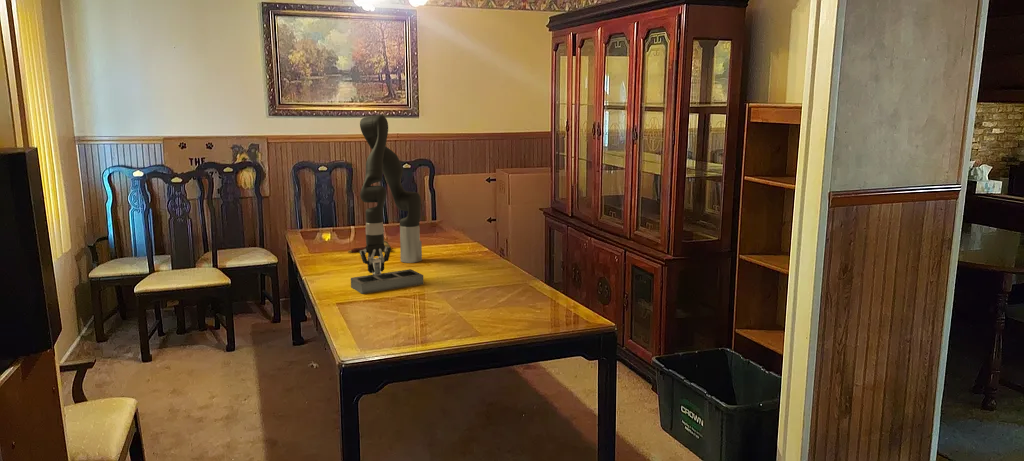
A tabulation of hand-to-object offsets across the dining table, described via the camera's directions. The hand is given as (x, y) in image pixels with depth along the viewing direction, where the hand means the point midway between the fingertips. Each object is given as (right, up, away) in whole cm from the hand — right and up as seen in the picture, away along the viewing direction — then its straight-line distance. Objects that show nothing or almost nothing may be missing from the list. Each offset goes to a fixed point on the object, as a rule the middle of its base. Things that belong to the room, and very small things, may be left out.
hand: (376, 271), depth 299 cm
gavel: (-14, +6, +55) cm, 58 cm away
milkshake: (0, -3, +1) cm, 3 cm away
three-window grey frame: (+7, -5, -9) cm, 12 cm away
